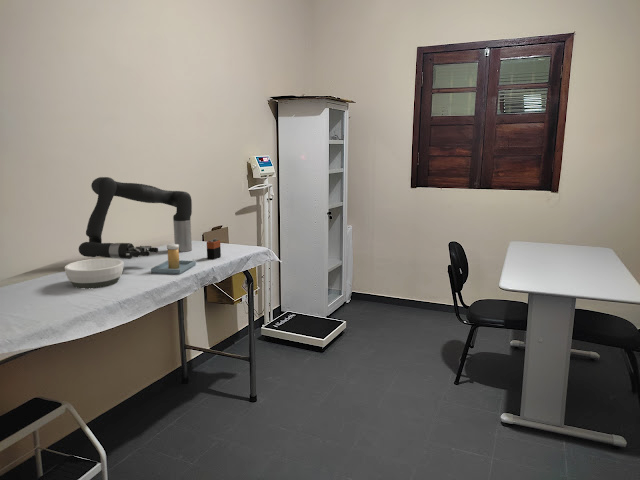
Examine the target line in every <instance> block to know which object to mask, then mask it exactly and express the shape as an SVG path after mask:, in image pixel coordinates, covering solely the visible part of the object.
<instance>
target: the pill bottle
mask: <svg viewBox="0 0 640 480" xmlns="http://www.w3.org/2000/svg"><path fill="white" fill-rule="evenodd" d="M166 249H167V260H168V268H169V269H178V268H180V267H179V260H180V252H179V245H178V244H175V243H169V244H167V245H166Z"/></svg>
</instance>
